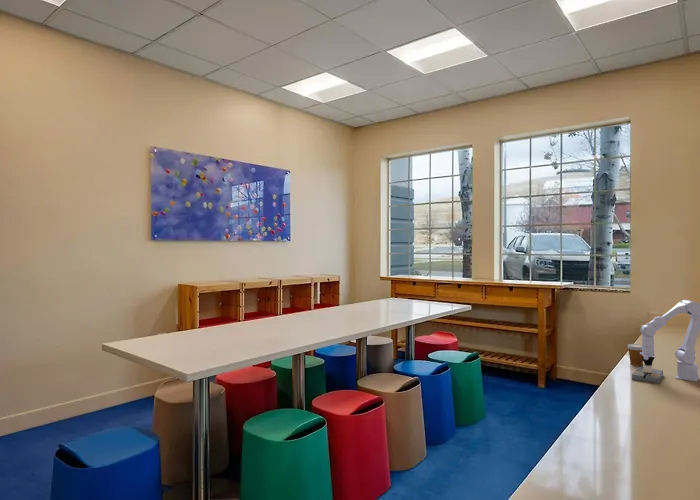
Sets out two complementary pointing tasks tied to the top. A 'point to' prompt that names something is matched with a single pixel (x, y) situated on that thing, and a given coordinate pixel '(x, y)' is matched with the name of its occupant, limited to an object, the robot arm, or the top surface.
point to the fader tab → (647, 368)
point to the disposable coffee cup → (635, 354)
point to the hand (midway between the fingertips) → (648, 369)
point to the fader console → (647, 375)
